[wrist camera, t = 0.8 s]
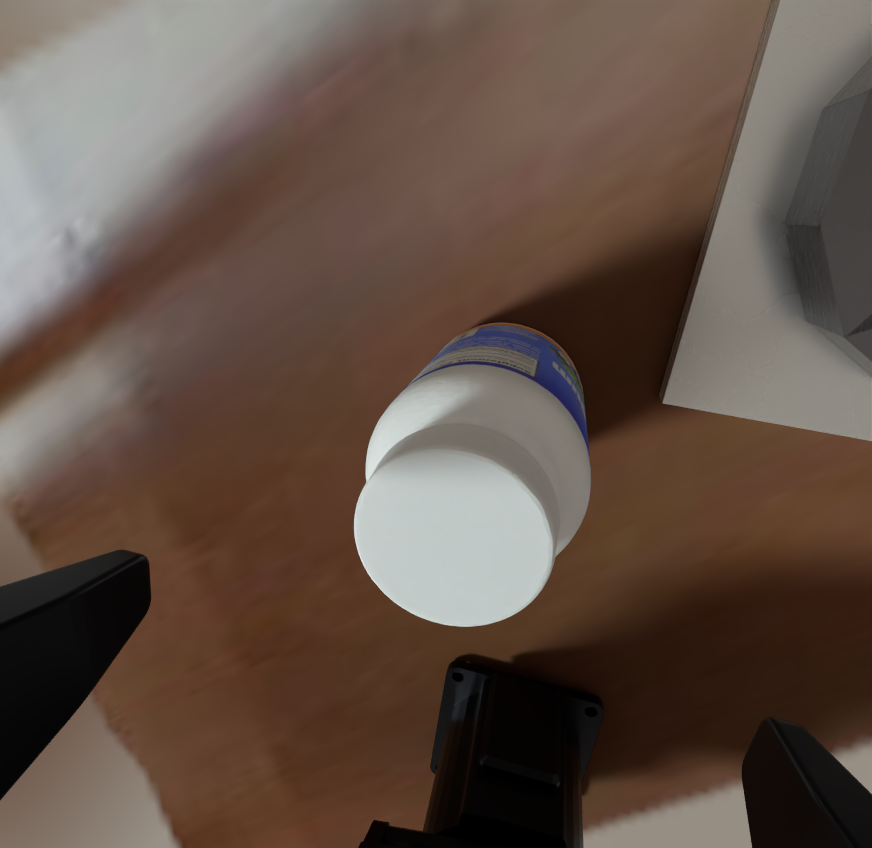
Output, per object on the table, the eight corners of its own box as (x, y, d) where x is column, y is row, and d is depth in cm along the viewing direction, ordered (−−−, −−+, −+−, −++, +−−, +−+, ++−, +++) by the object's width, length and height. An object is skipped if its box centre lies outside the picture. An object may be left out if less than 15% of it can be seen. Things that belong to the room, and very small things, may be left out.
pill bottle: (583, 467, 20) (600, 673, 11) (434, 467, 21) (341, 651, 12) (583, 313, 18) (603, 409, 9) (420, 322, 19) (299, 414, 10)
